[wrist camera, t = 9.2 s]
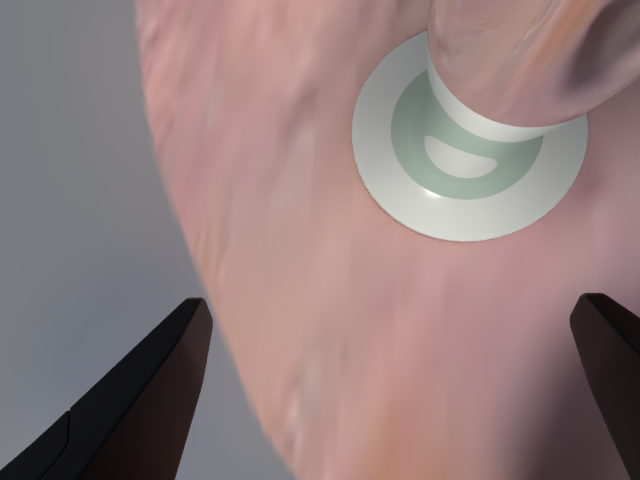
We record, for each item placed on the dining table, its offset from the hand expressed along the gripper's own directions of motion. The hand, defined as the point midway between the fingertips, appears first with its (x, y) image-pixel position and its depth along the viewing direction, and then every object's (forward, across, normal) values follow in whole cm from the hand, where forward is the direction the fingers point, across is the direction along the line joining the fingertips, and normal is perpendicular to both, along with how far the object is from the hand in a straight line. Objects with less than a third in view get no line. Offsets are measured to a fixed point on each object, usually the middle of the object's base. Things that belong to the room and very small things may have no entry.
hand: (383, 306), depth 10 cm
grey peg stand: (+16, -6, +3) cm, 18 cm away
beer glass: (+15, -6, +3) cm, 16 cm away
